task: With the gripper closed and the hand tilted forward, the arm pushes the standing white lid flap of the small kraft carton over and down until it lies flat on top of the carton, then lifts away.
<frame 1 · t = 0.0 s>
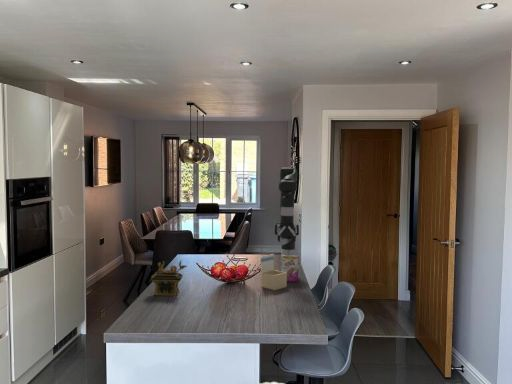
hand: (286, 241, 278), 29 cm above the kitchen island, tool pointing down, fingers open, 8 cm apart
decorative box: (169, 294, 268), on the kitchen island
lid flap: (267, 263, 290), point 14 cm above the kitchen island, hinge at 92.0°
candy bar box: (289, 281, 304), on the kitchen island
carton: (274, 287, 287), on the kitchen island
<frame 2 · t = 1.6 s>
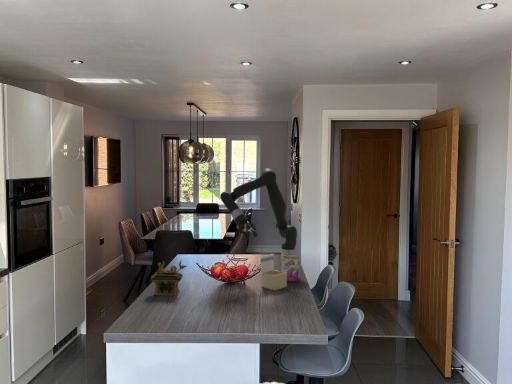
hand: (252, 237, 297), 29 cm above the kitchen island, tool tilted 45°, fingers open, 7 cm apart
nothing on the kitchen island moved.
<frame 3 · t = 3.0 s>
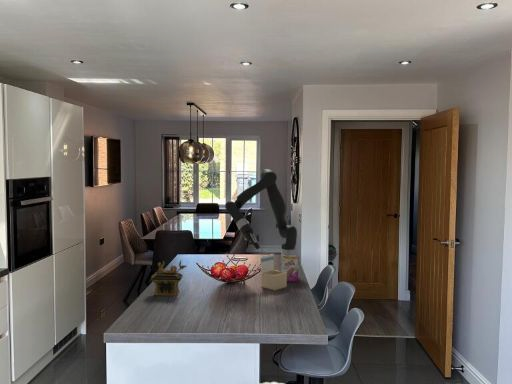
hand: (258, 248, 294), 22 cm above the kitchen island, tool tilted 45°, fingers closed
nothing on the kitchen island moved.
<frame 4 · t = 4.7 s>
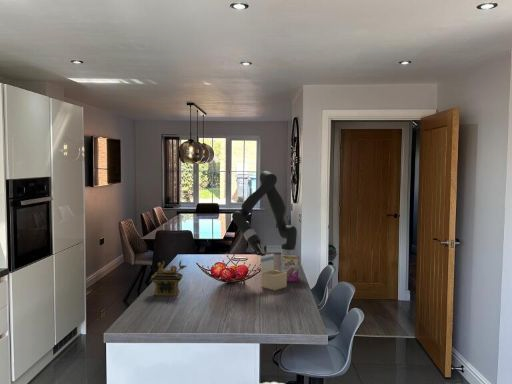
hand: (266, 259, 291), 16 cm above the kitchen island, tool tilted 45°, fingers closed
lid flap: (267, 263, 290), point 14 cm above the kitchen island, hinge at 91.9°, touching gripper
everything else where it was.
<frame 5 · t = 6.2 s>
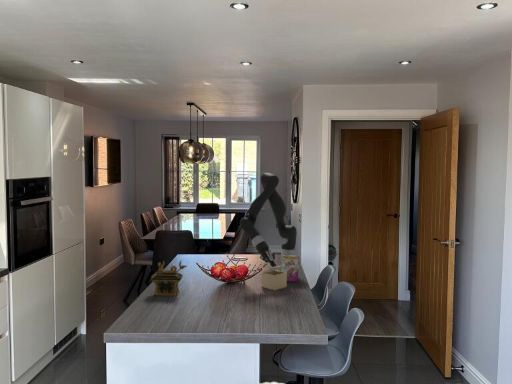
hand: (274, 266, 286), 13 cm above the kitchen island, tool tilted 45°, fingers closed
lid flap: (273, 268, 287), point 12 cm above the kitchen island, hinge at 25.5°, touching gripper
everything else where it was.
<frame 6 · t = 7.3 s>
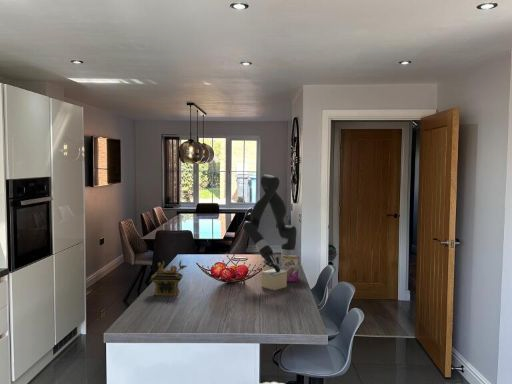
hand: (278, 271, 284), 10 cm above the kitchen island, tool tilted 45°, fingers closed
lid flap: (274, 271, 287), point 10 cm above the kitchen island, hinge at 1.2°, touching gripper
everything else where it was.
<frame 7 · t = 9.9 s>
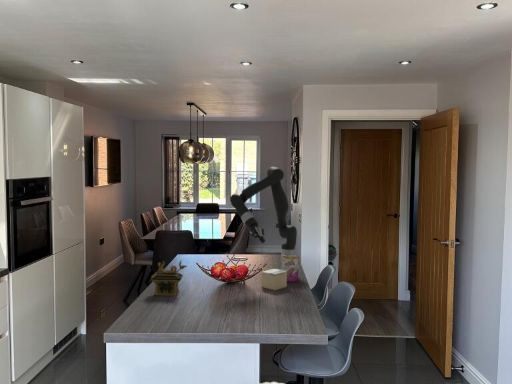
hand: (263, 242, 291), 27 cm above the kitchen island, tool tilted 45°, fingers closed
lid flap: (274, 271, 287), point 10 cm above the kitchen island, hinge at 1.0°
everything else where it was.
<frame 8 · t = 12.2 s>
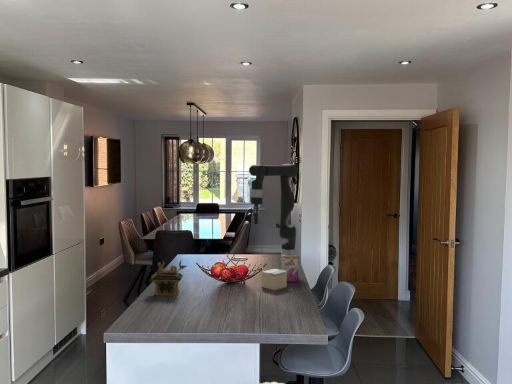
hand: (256, 223, 298), 37 cm above the kitchen island, tool pointing down, fingers closed
nothing on the kitchen island moved.
at the end: lid flap at +1° (first picture: +92°) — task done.
